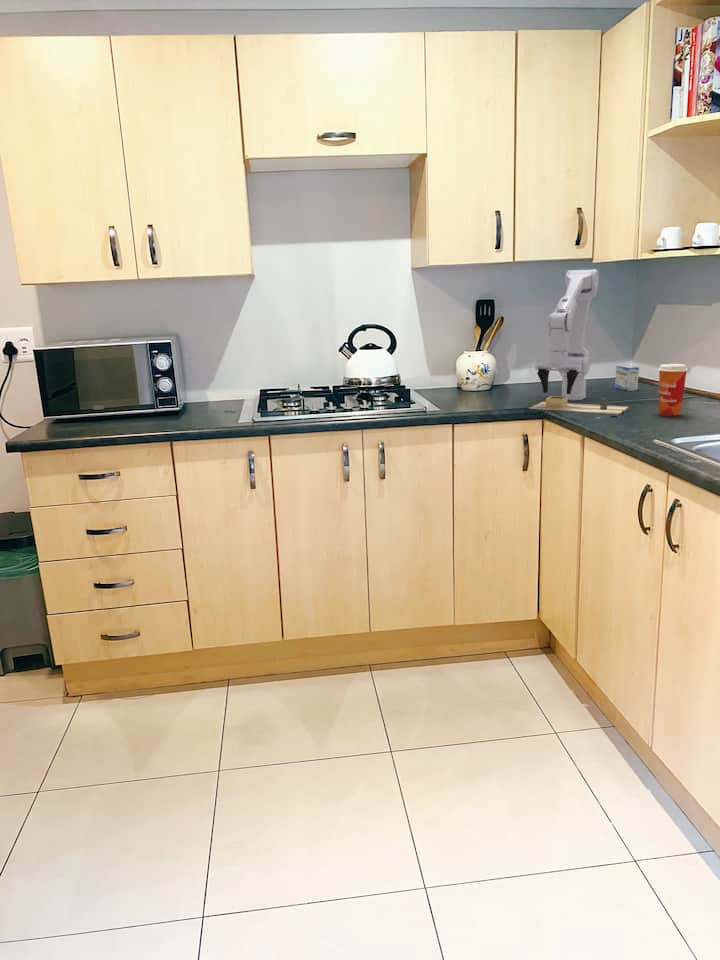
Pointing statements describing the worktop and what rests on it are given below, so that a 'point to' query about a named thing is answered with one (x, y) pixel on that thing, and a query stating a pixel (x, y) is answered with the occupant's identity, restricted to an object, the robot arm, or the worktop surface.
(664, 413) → the coffee cup
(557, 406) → the brass link
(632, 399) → the worktop surface
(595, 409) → the keeper board
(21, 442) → the worktop surface
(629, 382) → the medicine box
